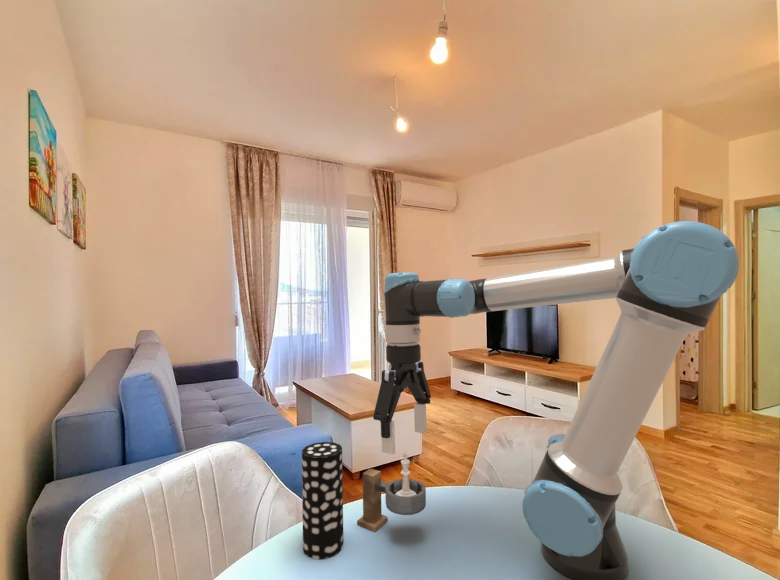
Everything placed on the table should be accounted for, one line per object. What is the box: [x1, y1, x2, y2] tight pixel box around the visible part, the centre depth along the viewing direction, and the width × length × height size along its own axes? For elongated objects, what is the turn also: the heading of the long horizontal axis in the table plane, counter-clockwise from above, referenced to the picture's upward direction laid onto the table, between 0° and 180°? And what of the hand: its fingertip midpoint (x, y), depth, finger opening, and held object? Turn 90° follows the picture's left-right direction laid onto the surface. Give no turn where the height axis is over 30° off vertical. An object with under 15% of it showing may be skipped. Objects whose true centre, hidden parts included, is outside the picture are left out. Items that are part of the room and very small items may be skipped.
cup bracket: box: [375, 478, 427, 516], centre depth 85 cm, size 14×9×3 cm, turn 57°
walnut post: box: [356, 468, 388, 533], centre depth 89 cm, size 5×5×12 cm
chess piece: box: [395, 451, 417, 496], centre depth 84 cm, size 5×5×10 cm
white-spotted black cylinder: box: [301, 441, 344, 560], centre depth 81 cm, size 8×8×20 cm
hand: (405, 442), depth 84 cm, fingers open, 13 cm apart
